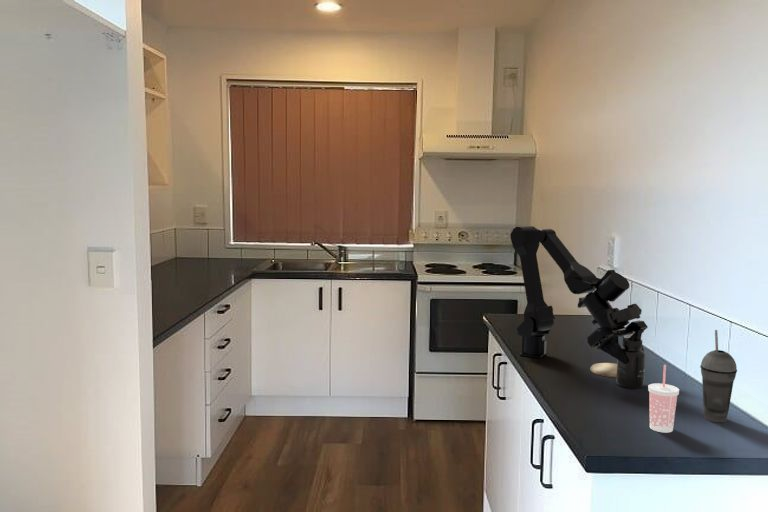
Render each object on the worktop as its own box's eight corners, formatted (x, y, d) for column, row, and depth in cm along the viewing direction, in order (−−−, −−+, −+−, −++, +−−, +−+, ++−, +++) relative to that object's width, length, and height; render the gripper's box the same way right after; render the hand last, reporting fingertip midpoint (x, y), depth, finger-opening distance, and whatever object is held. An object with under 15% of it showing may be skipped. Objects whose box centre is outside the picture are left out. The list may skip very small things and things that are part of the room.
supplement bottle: (646, 389, 161) (649, 343, 159) (618, 388, 162) (620, 342, 161) (641, 381, 168) (643, 337, 166) (614, 379, 169) (616, 335, 168)
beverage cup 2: (719, 427, 137) (726, 336, 134) (689, 416, 143) (695, 329, 141) (740, 421, 140) (747, 332, 138) (710, 410, 146) (716, 326, 144)
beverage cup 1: (666, 422, 139) (670, 360, 137) (682, 433, 133) (687, 368, 131) (640, 423, 138) (643, 361, 137) (655, 434, 132) (659, 369, 131)
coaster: (586, 373, 174) (586, 370, 174) (594, 363, 184) (594, 360, 184) (631, 380, 169) (631, 377, 169) (637, 369, 179) (637, 366, 179)
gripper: (598, 297, 160) (634, 349, 152) (643, 290, 171) (679, 339, 163) (572, 322, 168) (605, 373, 160) (616, 314, 178) (649, 362, 170)
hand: (636, 361), depth 163 cm, fingers closed on supplement bottle, 7 cm apart
